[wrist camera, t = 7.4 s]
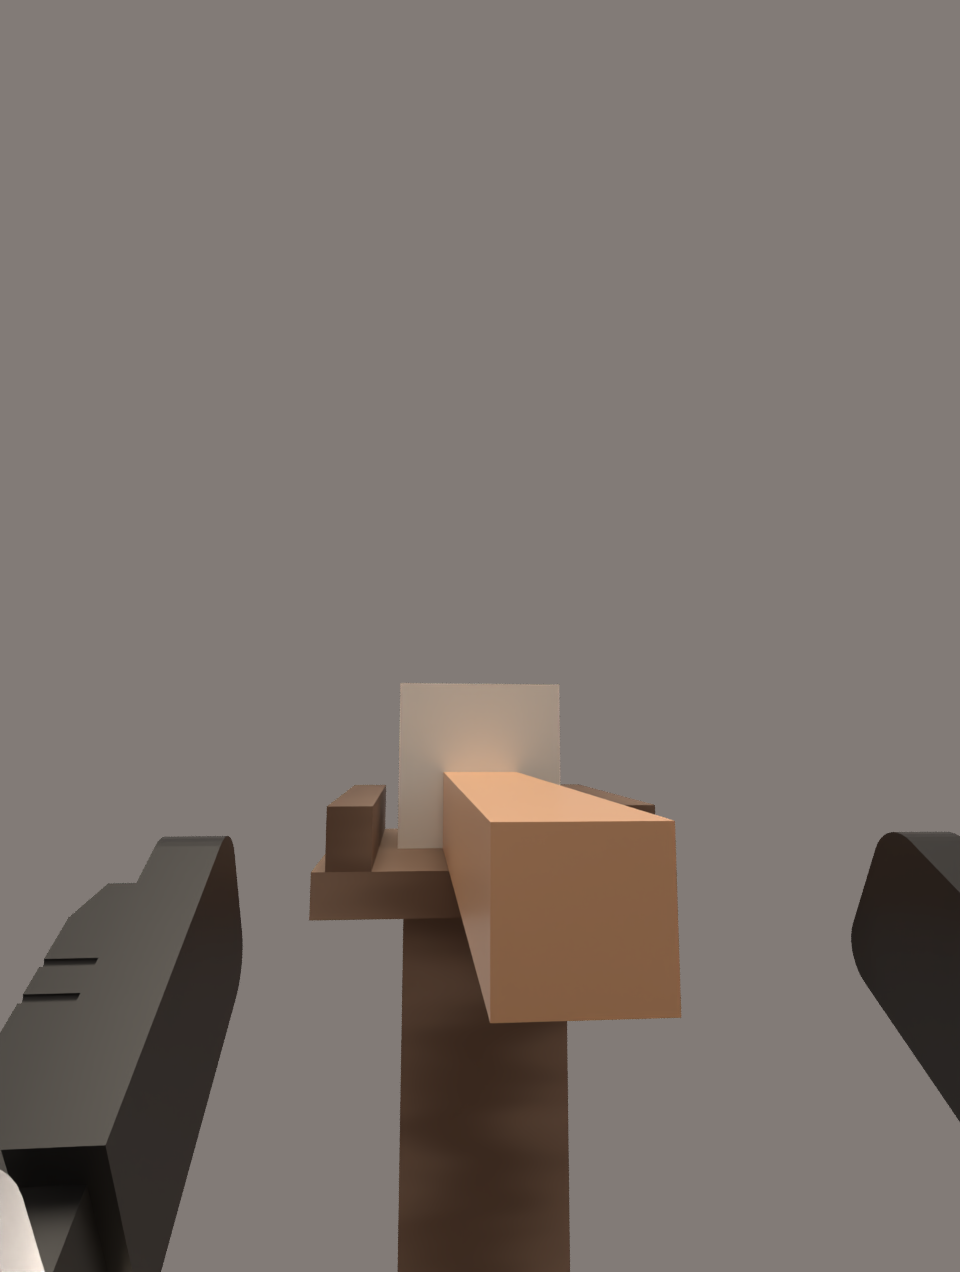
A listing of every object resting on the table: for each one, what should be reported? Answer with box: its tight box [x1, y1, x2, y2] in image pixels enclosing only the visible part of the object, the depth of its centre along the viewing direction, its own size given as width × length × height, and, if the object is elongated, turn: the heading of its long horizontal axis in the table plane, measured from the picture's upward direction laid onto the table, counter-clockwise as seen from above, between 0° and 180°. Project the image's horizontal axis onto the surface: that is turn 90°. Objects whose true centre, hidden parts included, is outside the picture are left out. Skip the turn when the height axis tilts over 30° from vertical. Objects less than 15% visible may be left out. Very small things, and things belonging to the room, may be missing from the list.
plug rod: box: [398, 683, 681, 1023], centre depth 16 cm, size 4×16×4 cm, turn 5°
